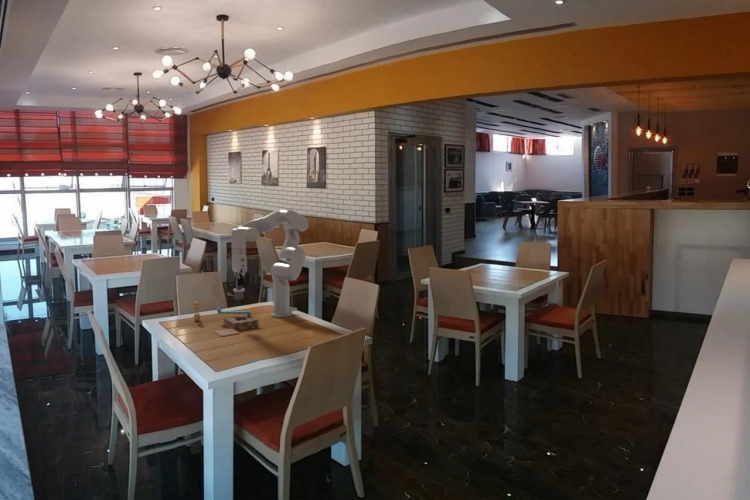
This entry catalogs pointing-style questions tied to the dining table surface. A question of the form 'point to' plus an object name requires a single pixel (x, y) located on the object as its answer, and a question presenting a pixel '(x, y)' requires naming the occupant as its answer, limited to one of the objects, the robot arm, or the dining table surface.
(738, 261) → the dining table surface
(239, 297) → the plug
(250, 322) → the socket block
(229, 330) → the tile
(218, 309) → the clip
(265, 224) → the robot arm
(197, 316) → the figurine
